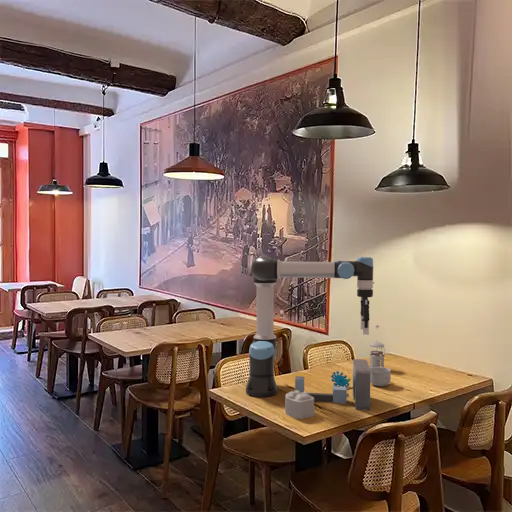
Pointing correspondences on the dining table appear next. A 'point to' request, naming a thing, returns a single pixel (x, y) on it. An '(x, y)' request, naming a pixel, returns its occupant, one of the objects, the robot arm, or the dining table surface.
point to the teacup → (380, 376)
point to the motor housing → (361, 384)
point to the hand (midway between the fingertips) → (364, 331)
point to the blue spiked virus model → (340, 379)
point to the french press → (377, 355)
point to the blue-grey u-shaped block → (336, 397)
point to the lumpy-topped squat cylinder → (299, 404)
